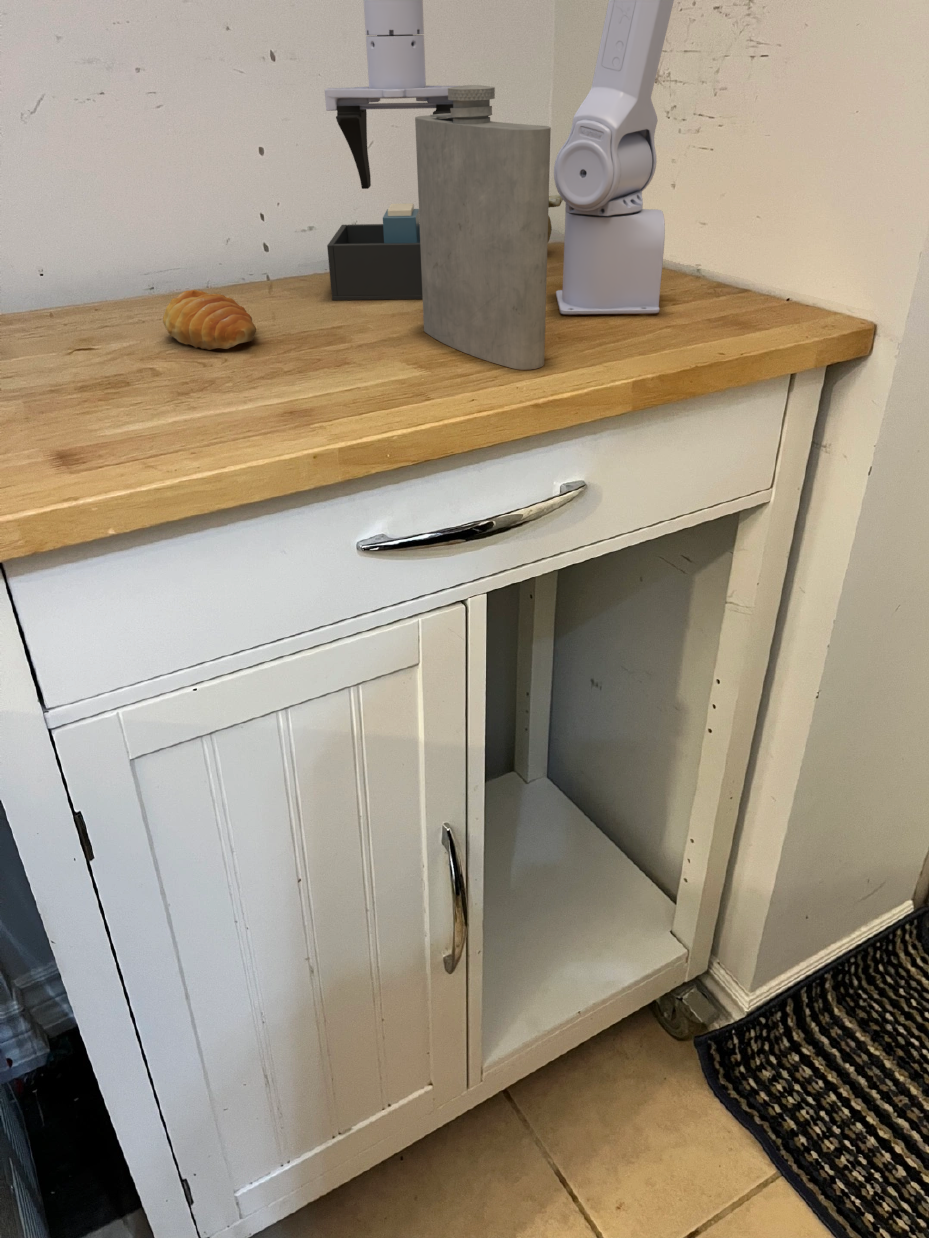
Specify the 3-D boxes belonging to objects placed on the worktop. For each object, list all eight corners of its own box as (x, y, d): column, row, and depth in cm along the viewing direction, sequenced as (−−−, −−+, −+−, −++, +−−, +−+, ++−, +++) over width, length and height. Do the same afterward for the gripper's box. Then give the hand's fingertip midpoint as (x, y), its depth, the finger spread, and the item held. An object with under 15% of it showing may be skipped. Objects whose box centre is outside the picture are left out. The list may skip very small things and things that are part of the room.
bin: (470, 273, 106) (470, 222, 103) (469, 298, 97) (468, 243, 94) (345, 275, 106) (341, 224, 103) (332, 300, 97) (327, 245, 94)
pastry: (277, 342, 84) (271, 299, 82) (212, 360, 81) (204, 315, 78) (220, 323, 90) (214, 282, 88) (157, 339, 86) (148, 296, 84)
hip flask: (552, 365, 78) (560, 88, 67) (512, 374, 76) (515, 91, 65) (445, 323, 89) (438, 80, 78) (409, 331, 87) (396, 82, 76)
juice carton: (421, 277, 103) (418, 202, 99) (418, 288, 99) (415, 210, 95) (390, 277, 103) (386, 203, 99) (386, 288, 99) (382, 211, 95)
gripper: (314, 38, 89) (327, 193, 96) (466, 35, 88) (469, 192, 95) (327, 36, 95) (339, 183, 102) (470, 34, 94) (472, 182, 101)
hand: (402, 187), depth 99 cm, fingers open, 7 cm apart
